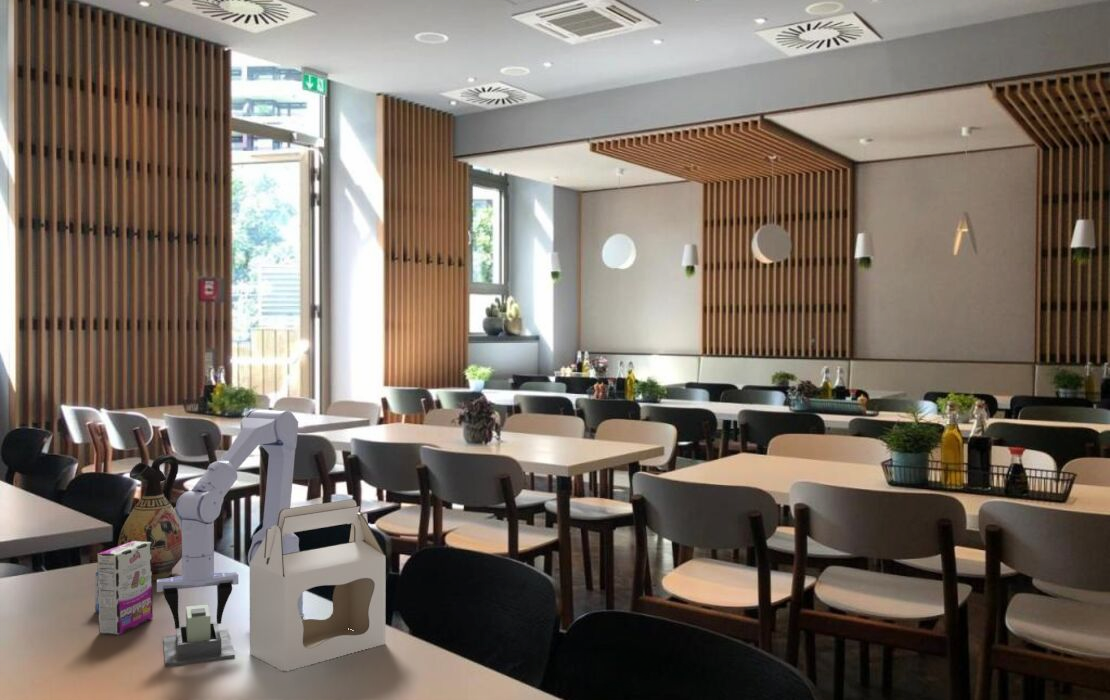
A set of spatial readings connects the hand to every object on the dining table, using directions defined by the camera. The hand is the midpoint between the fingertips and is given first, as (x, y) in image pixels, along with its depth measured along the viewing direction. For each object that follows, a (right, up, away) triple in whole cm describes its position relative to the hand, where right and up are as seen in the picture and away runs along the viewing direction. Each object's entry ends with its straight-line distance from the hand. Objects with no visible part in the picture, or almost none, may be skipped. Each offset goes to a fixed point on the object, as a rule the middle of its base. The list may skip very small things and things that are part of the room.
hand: (198, 624), depth 179 cm
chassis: (0, -5, 0) cm, 5 cm away
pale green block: (0, -3, +1) cm, 3 cm away
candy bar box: (-20, -4, +13) cm, 24 cm away
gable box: (+23, -5, 0) cm, 24 cm away
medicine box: (-27, -4, +23) cm, 36 cm away
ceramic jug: (-30, -3, +52) cm, 61 cm away
